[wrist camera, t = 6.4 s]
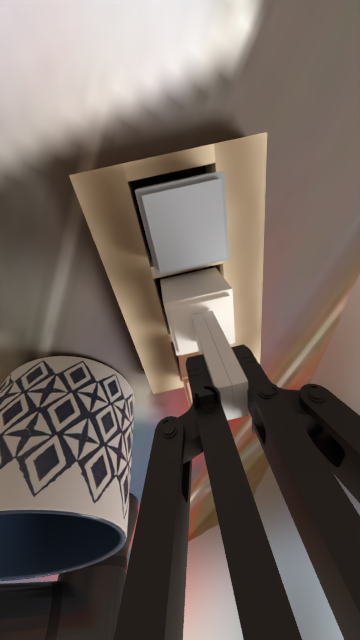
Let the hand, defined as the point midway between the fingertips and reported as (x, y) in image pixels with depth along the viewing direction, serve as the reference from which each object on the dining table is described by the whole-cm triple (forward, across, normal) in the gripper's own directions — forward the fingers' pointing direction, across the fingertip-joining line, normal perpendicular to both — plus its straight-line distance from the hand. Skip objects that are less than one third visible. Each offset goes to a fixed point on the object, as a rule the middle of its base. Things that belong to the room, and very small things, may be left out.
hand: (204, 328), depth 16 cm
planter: (+8, -18, -12) cm, 23 cm away
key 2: (+6, 0, +7) cm, 9 cm away
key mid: (+5, 0, 0) cm, 5 cm away
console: (+8, 0, 0) cm, 8 cm away
